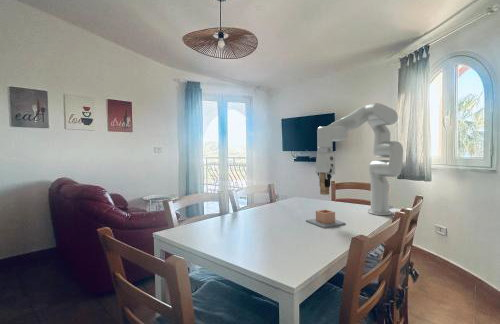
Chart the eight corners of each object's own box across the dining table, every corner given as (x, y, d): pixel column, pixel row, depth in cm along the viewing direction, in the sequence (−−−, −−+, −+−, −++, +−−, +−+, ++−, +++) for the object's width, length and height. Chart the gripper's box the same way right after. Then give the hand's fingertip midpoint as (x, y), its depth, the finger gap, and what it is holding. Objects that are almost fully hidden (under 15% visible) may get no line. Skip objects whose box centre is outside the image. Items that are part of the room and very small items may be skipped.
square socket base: (326, 218, 145) (326, 207, 145) (345, 224, 133) (345, 212, 133) (305, 221, 139) (305, 210, 139) (323, 228, 127) (323, 215, 127)
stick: (325, 193, 138) (324, 170, 137) (329, 194, 135) (329, 171, 134) (320, 194, 136) (320, 171, 136) (324, 194, 133) (324, 171, 133)
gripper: (342, 150, 129) (342, 187, 129) (320, 150, 144) (320, 184, 144) (330, 150, 126) (330, 188, 126) (308, 151, 140) (309, 185, 141)
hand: (324, 186), depth 135 cm, fingers closed on stick, 3 cm apart
